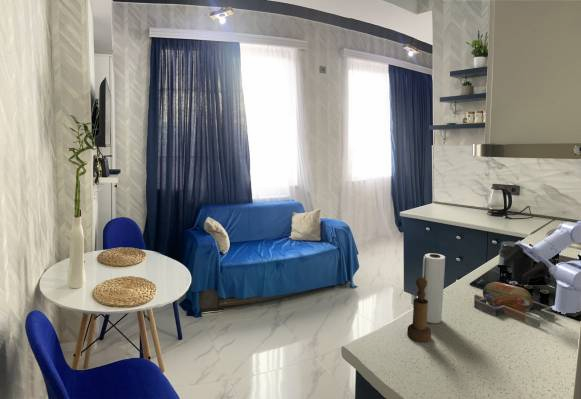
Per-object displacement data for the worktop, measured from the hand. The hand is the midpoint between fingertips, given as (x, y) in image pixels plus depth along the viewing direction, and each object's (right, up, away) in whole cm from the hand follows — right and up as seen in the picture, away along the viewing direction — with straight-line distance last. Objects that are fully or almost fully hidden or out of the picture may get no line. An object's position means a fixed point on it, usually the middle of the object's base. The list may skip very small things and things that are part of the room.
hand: (513, 270), depth 124 cm
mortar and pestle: (-35, -17, -12) cm, 41 cm away
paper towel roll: (-28, -16, -1) cm, 32 cm away
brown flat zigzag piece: (+2, -14, +4) cm, 15 cm away
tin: (+1, -14, +6) cm, 16 cm away
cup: (+19, -11, +28) cm, 35 cm away
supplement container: (+24, -8, +43) cm, 50 cm away
